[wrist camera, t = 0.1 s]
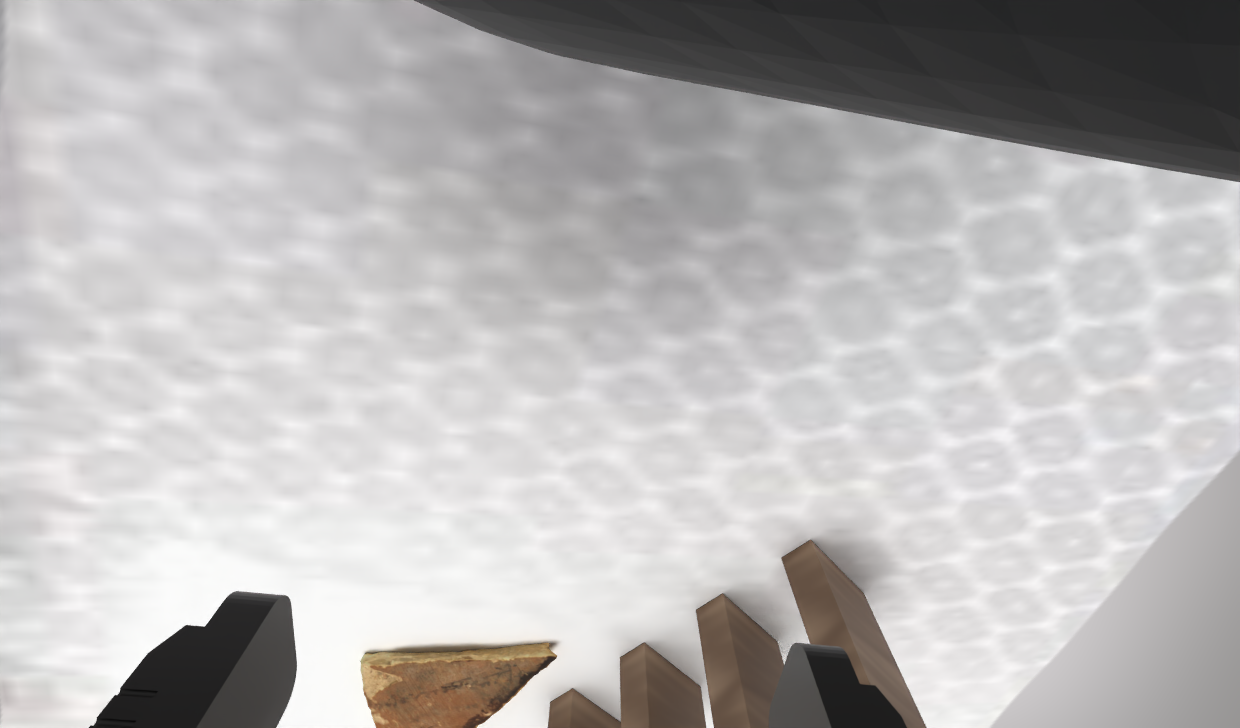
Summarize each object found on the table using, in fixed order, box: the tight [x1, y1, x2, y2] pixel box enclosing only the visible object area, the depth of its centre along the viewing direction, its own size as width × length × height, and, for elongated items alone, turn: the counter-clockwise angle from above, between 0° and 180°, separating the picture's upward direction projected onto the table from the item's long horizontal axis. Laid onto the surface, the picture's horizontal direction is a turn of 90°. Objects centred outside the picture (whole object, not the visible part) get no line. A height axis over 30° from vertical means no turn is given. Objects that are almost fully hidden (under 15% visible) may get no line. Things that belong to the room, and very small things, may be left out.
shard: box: [361, 643, 557, 728], centre depth 36 cm, size 11×8×2 cm
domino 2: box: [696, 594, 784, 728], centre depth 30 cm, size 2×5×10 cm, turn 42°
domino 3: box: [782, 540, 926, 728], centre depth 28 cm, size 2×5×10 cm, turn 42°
